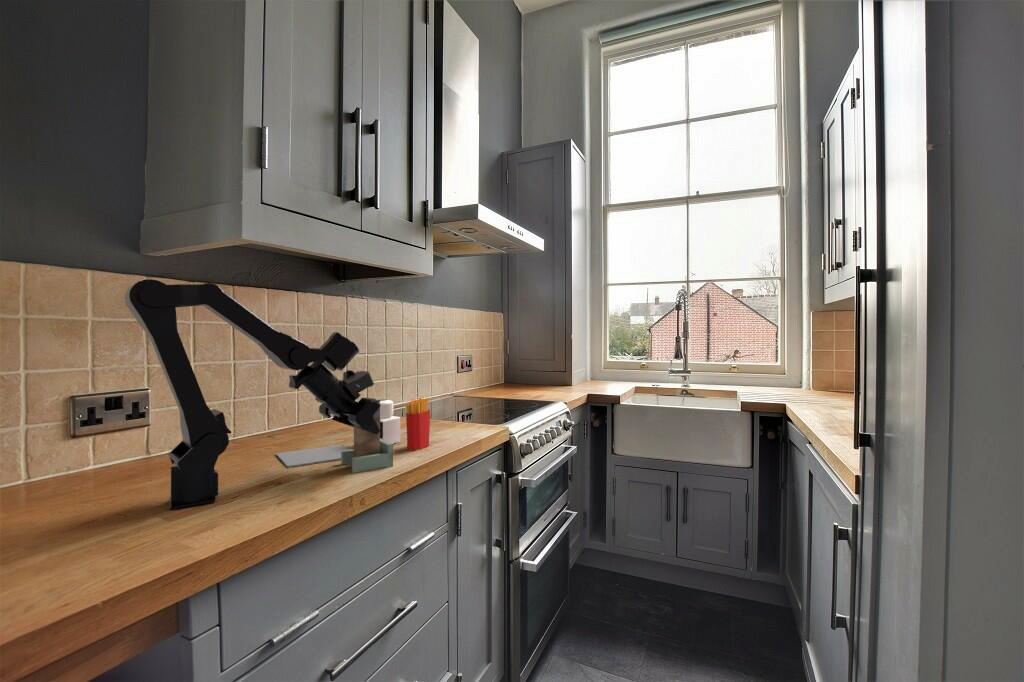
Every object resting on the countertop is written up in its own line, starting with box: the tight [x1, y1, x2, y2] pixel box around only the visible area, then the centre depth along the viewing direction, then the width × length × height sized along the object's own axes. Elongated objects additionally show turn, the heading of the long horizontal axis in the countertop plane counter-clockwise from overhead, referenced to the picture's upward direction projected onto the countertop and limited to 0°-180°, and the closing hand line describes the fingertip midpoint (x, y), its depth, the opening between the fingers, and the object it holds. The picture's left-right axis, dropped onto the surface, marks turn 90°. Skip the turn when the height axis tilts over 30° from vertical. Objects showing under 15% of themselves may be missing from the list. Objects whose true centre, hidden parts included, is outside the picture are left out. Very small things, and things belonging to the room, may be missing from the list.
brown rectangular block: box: [353, 408, 380, 457], centre depth 105 cm, size 4×4×13 cm
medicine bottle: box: [376, 399, 401, 445], centre depth 127 cm, size 7×7×12 cm
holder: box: [340, 438, 394, 474], centre depth 105 cm, size 9×9×5 cm
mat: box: [275, 444, 351, 469], centre depth 113 cm, size 16×14×1 cm
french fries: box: [405, 397, 431, 451], centre depth 123 cm, size 9×4×13 cm, turn 160°
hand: (372, 430), depth 106 cm, fingers closed on brown rectangular block, 5 cm apart
